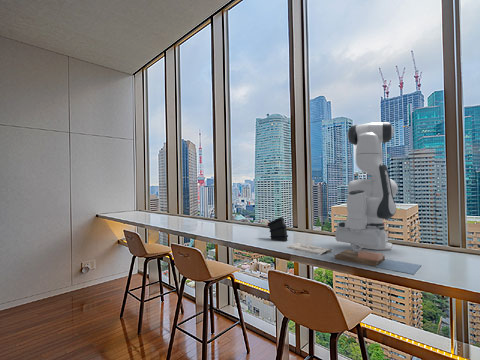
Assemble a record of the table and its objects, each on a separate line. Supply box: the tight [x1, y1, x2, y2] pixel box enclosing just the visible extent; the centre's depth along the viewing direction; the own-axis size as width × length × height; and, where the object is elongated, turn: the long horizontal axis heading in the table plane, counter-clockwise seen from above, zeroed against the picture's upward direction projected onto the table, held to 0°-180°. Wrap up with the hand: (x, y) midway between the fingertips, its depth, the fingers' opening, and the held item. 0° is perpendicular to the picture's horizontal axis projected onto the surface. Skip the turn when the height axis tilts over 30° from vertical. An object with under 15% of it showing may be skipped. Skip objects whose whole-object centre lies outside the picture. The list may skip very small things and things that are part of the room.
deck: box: [334, 249, 386, 267], centre depth 129 cm, size 14×18×2 cm
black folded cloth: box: [267, 216, 289, 242], centre depth 175 cm, size 4×13×15 cm, turn 53°
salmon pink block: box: [358, 250, 384, 261], centre depth 124 cm, size 9×6×2 cm, turn 45°
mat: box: [375, 259, 422, 276], centre depth 117 cm, size 16×14×1 cm
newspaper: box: [286, 242, 333, 256], centre depth 150 cm, size 23×12×2 cm, turn 42°
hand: (357, 253), depth 129 cm, fingers closed
